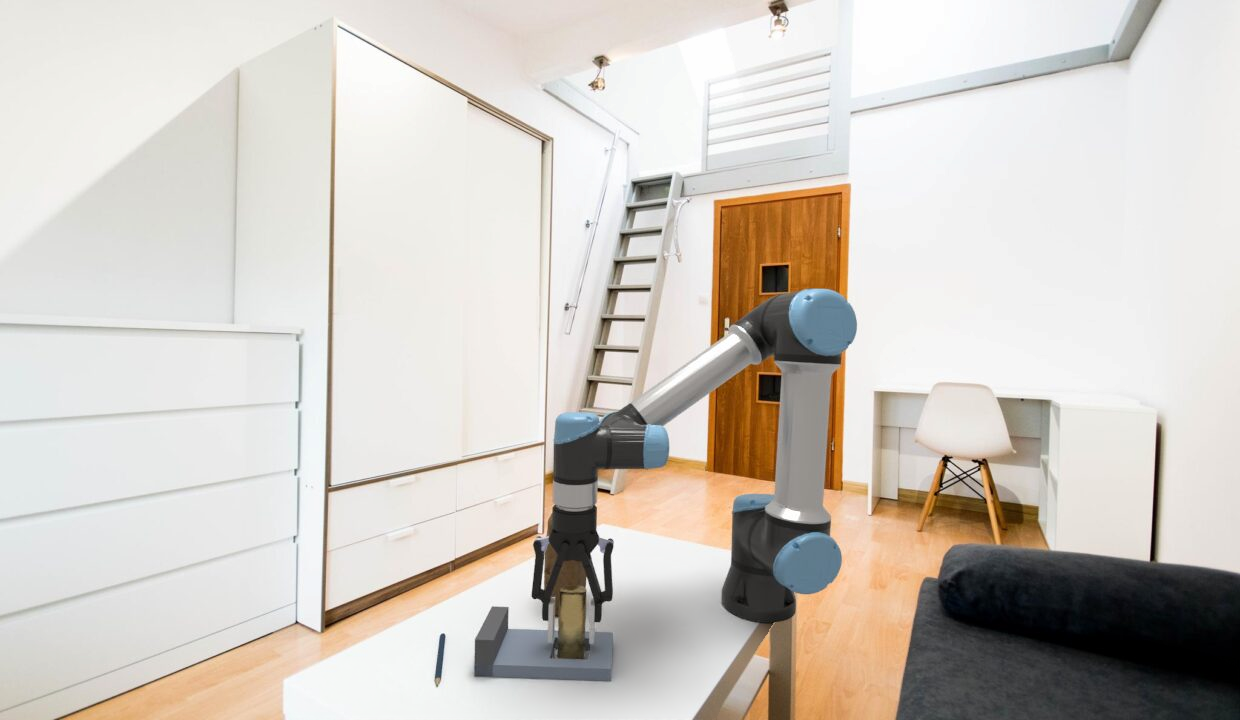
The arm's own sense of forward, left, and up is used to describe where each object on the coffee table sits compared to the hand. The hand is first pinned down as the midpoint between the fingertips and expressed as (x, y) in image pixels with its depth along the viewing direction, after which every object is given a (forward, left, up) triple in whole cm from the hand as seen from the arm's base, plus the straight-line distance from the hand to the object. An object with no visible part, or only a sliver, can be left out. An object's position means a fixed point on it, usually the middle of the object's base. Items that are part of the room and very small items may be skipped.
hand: (571, 638), depth 93 cm
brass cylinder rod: (0, 0, -4) cm, 4 cm away
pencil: (+22, +1, -4) cm, 22 cm away
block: (+3, -19, -4) cm, 20 cm away
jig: (+4, 0, -4) cm, 5 cm away
